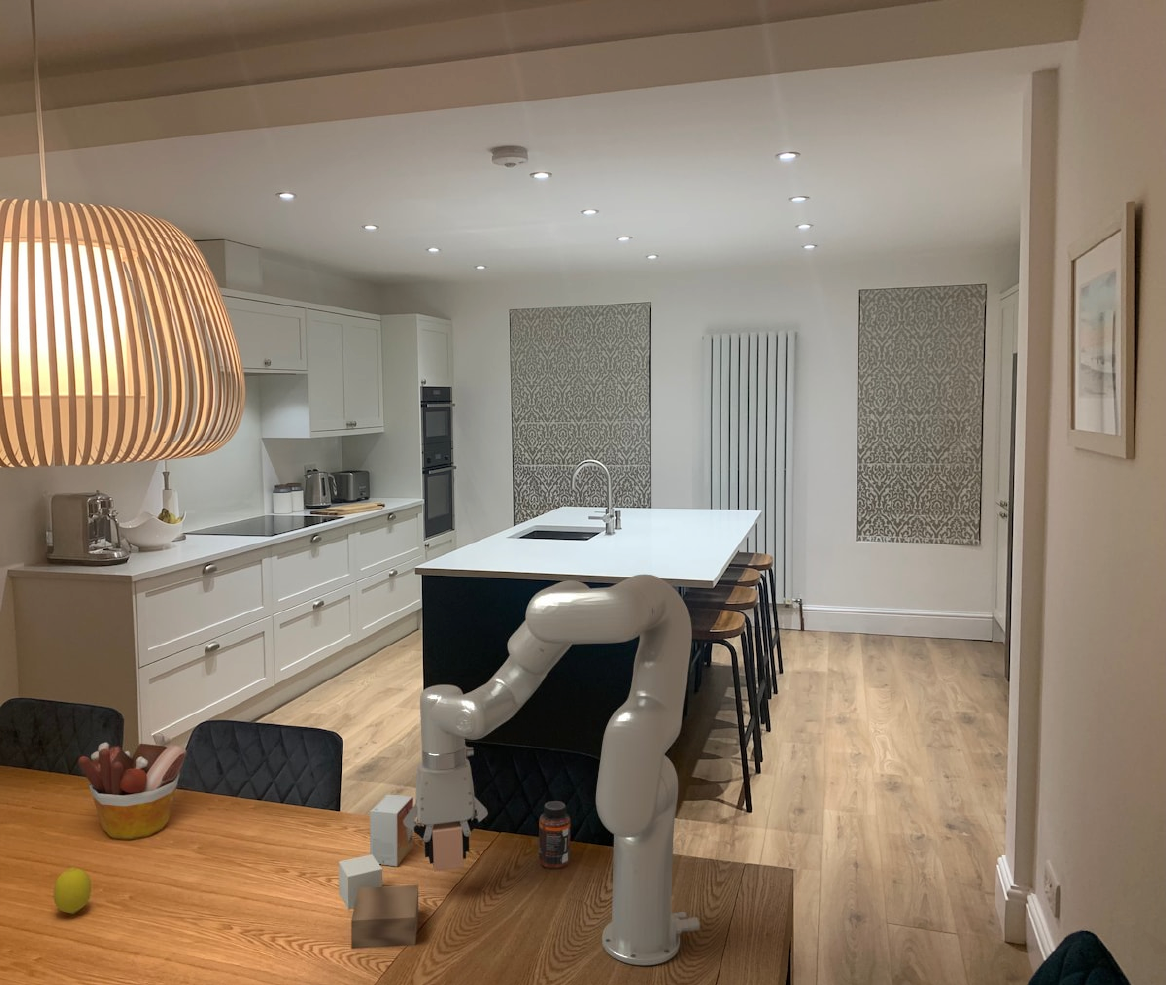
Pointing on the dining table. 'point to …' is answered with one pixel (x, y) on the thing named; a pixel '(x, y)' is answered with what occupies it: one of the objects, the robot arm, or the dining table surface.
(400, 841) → the small box
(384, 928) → the walnut block
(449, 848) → the terracotta block
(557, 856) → the supplement bottle
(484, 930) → the dining table surface
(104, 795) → the bucket of meat
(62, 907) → the lemon
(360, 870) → the grey cube
